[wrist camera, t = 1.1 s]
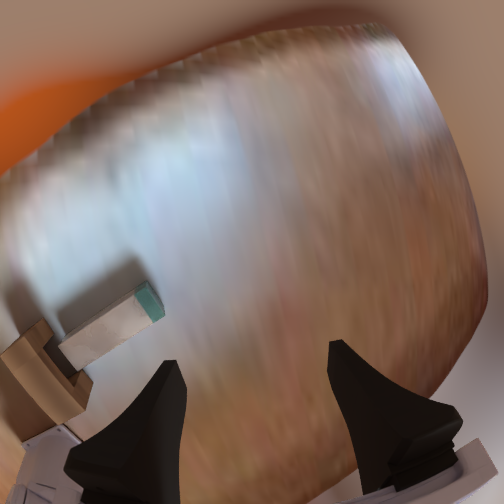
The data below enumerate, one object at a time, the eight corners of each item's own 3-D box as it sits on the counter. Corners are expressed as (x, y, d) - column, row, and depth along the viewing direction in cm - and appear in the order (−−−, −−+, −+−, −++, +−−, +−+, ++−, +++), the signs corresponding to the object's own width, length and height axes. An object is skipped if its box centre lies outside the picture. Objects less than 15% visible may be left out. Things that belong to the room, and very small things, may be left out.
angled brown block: (68, 397, 21) (58, 425, 17) (20, 336, 19) (-1, 355, 15) (93, 382, 22) (85, 410, 18) (43, 317, 20) (24, 336, 16)
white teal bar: (83, 358, 22) (77, 371, 19) (65, 334, 21) (57, 346, 19) (163, 306, 24) (165, 315, 22) (146, 280, 24) (146, 287, 21)
